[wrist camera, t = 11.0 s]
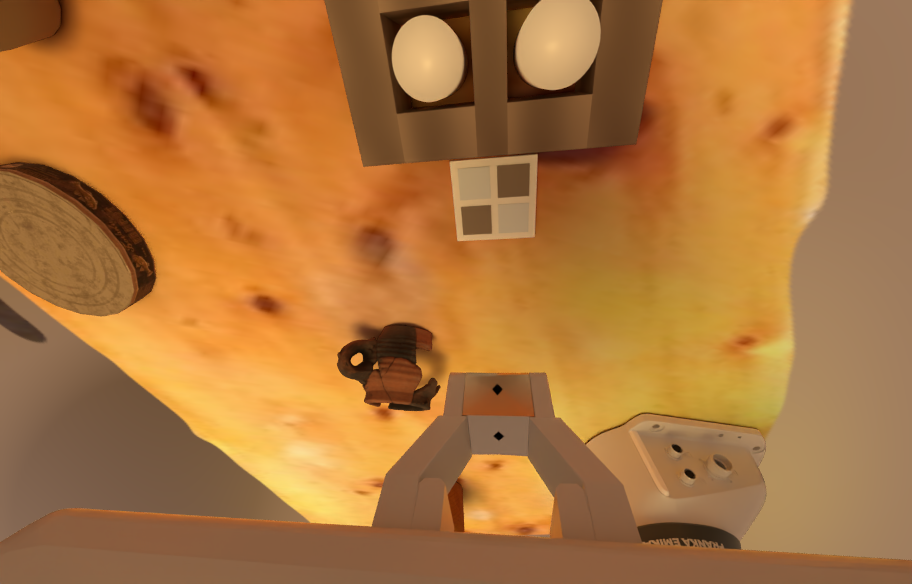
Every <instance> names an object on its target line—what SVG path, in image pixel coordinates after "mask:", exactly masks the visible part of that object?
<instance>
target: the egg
mask: <svg viewBox="0 0 912 584" xmlns="http://www.w3.org/2000/svg"><path fill="white" fill-rule="evenodd" d="M392 66H393V70H394V73H395V76H396V79H397V81H398V83H399V84H400V86H401V87H402V88H403V90H404V91H405V92H406V93H407V94H408V95H410V96H411V97H413V98H414V99H417V100H419V101H423V102H434V101H438V100H441V99H443V98H446V97H448V96H450V95H452V94H454V93H455V92H456V91H457V90H458V89H459V88H460V87H461V85H462V84H463V82H464V80H465V77H466V74H467V67H468V60H467V54H466V50H465V47H464V45H463V43H462V42H461V40H460V39H459V38H458V36H457V35H456V34H455V33H454V31H453V30H452V29H451V28H450V27H449V26H448V25H447V24H446V23H445V22H444V21H442V20H441V19H439V18H437V17H434V16H429V15H421V16H417V17H414V18H412V19H410V20H409V21H407V22H406V23H405V24H404V25H403V26H402V27H401V29H400V30H399V32H398V33H397V35H396V38H395V40H394V43H393V48H392Z"/></svg>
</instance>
